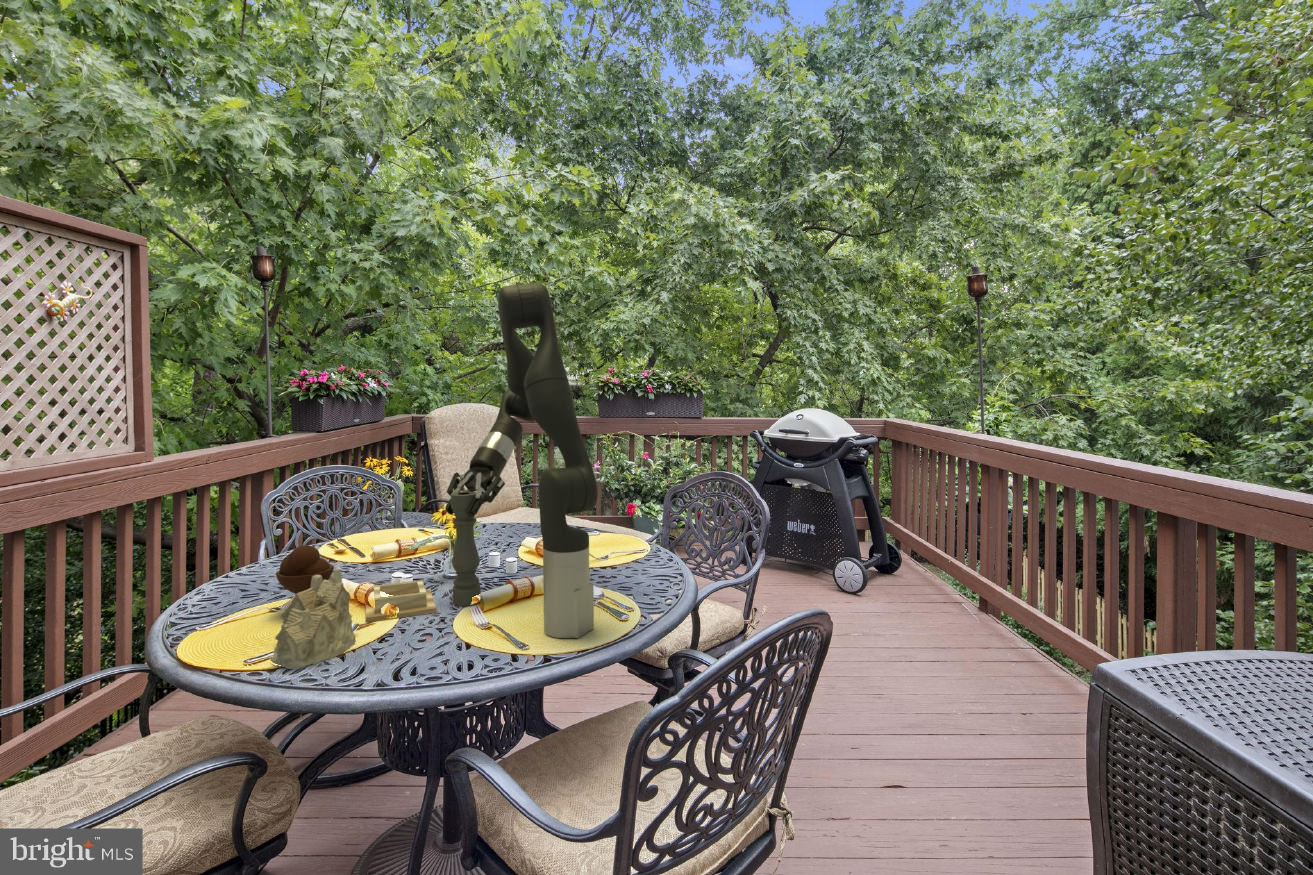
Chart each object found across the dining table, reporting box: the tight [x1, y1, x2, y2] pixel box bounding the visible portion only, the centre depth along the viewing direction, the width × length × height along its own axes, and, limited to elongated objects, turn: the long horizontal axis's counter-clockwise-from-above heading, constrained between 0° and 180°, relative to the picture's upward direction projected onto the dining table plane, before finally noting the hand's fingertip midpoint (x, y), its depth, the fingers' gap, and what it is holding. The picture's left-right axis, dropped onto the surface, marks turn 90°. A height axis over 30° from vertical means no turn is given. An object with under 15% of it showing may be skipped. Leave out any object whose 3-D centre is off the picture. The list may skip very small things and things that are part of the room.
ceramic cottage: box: [270, 567, 357, 670], centre depth 121 cm, size 16×16×15 cm
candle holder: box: [450, 491, 482, 607], centre depth 146 cm, size 6×6×25 cm
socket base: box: [365, 579, 437, 623], centre depth 144 cm, size 14×14×4 cm
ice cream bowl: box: [275, 544, 335, 595], centre depth 140 cm, size 11×11×15 cm
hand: (459, 513), depth 144 cm, fingers closed on candle holder, 5 cm apart
